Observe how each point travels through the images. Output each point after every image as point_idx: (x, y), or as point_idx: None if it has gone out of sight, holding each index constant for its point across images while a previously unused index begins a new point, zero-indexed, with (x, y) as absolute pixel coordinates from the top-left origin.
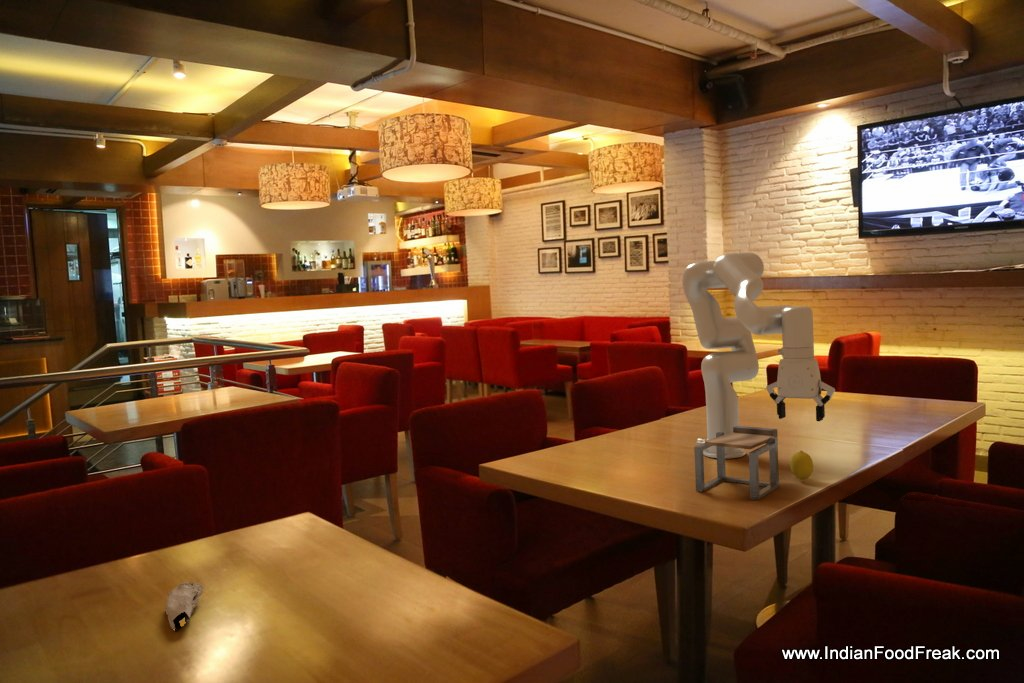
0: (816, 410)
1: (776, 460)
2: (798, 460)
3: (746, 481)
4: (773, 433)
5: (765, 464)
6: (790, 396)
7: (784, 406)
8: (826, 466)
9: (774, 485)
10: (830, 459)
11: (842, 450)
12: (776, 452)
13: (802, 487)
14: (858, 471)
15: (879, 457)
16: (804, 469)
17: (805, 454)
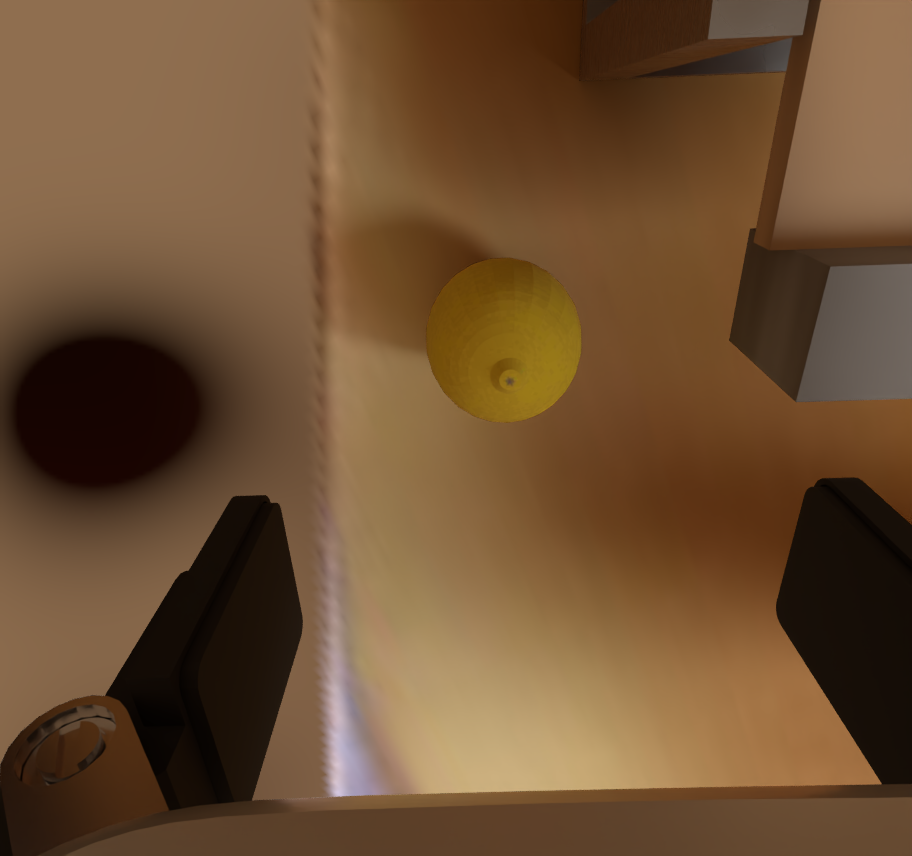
0: (211, 609)
1: (630, 13)
2: (503, 284)
3: None
4: (808, 260)
5: (790, 533)
6: (865, 814)
7: (873, 725)
8: (488, 621)
9: (595, 2)
10: (516, 724)
11: None
12: (653, 9)
13: (437, 152)
14: (324, 603)
15: None
16: (459, 273)
17: (469, 357)
